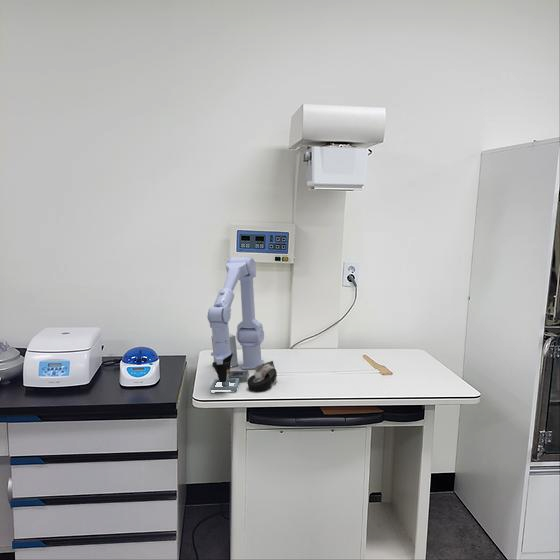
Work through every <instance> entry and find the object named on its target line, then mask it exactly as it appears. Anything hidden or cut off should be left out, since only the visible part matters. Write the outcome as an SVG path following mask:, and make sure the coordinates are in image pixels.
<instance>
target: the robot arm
mask: <svg viewBox="0 0 560 560" xmlns="http://www.w3.org/2000/svg"><path fill="white" fill-rule="evenodd" d="M225 269H226V273H227V274H226V277H225V281H224V285H223V288H221V289H219V291H218V294H217V296H216V298H215V301H214V303H213V306H211V307H210V308H208V311H207V316H206V318H207V321H208V323H209V327H210V328H211V336H213V346H214V352H213V351H212V352H211V353H210V356H211V357H213V356H214V357H215V358H216V362H214V361H213V362H212V367H213V368H214V369H215V372H216V374H217V379H219V381H220V382H226V379H227V369H229V372H230V371H231V370H230V369H231V368H230V363H231V358H232V356H233V353H231V351H230V339H229V334H230V332H229V322H230V320H231V315H232V314H231V313H232V312H231V311H232V309H231V307H232V304H233V301H234V298H235V293H234V289H235V288H236V286H237V284H238V281H239V282H240V299H241V315H242V316H241V319H242V321H240V322H239V323H238V324H237V326H236V335H235V338H236V340H237V342H238V343H239V344H240V346H241V349H242V361H243V363H242V367H241V370H253V369H255V370H256V368H255V367H256V366H259V365H261V364H264V363H265V362H264V359H262V351H261V349H262V348H261V345H262V343H263V342H264V340H265V339H264V338H265V331H264V327H263V324H262V323H261V322H260V321H259V320H257V319H256V311H255V310H256V309H255V295H254V294H255V292H254V290H255V289H254V278H256V277H257V276H256V275H257V267H256V261H255V260H254V257H252V256H247V257H246V256H245V257H242V256H241V257H232V256H231V257H228V258H227V260H226V263H225ZM213 346H212V347H213ZM214 357H213V358H214ZM228 375H229V373H228Z"/></svg>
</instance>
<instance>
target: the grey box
mask: <svg viewBox="0 0 560 560" xmlns="http://www.w3.org/2000/svg"><path fill="white" fill-rule="evenodd" d="M229 339H230V351H231V353H233V356H232V358H231V363H230V367H231V366H235V367H237V366H236V365H238V366H239V362H238V352H237V349H238V348H237V342H236V340H237V338H236V335H234V334H232V333H229ZM211 344H212V345H211V346H212V352H214V346H213V335H211ZM212 357H213V362H216V358H215V357H214V356H212ZM231 368H232V367H231Z"/></svg>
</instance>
